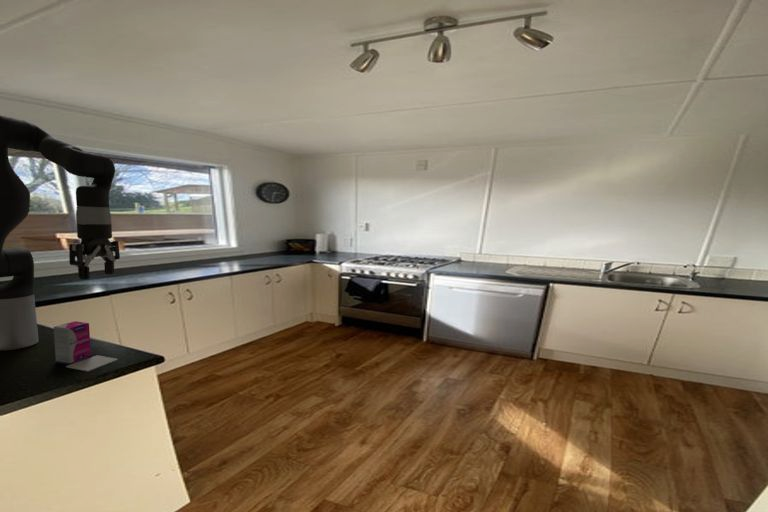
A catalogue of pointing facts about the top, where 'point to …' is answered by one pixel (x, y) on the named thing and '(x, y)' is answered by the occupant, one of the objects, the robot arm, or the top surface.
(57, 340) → the supplement box
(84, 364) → the mat
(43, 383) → the top surface
